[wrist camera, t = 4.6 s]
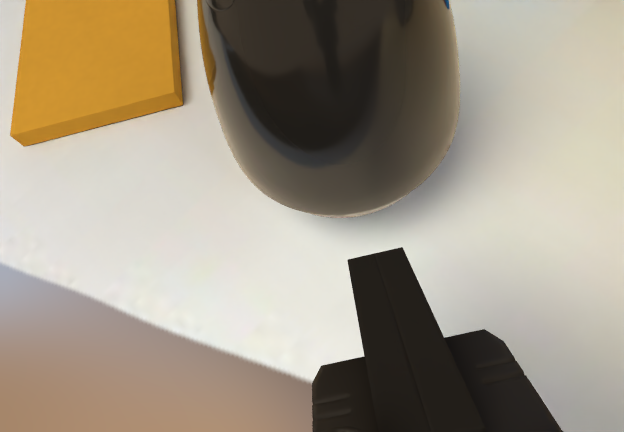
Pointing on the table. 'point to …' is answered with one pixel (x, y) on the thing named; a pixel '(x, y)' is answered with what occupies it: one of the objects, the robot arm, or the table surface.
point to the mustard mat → (94, 65)
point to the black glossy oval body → (333, 96)
